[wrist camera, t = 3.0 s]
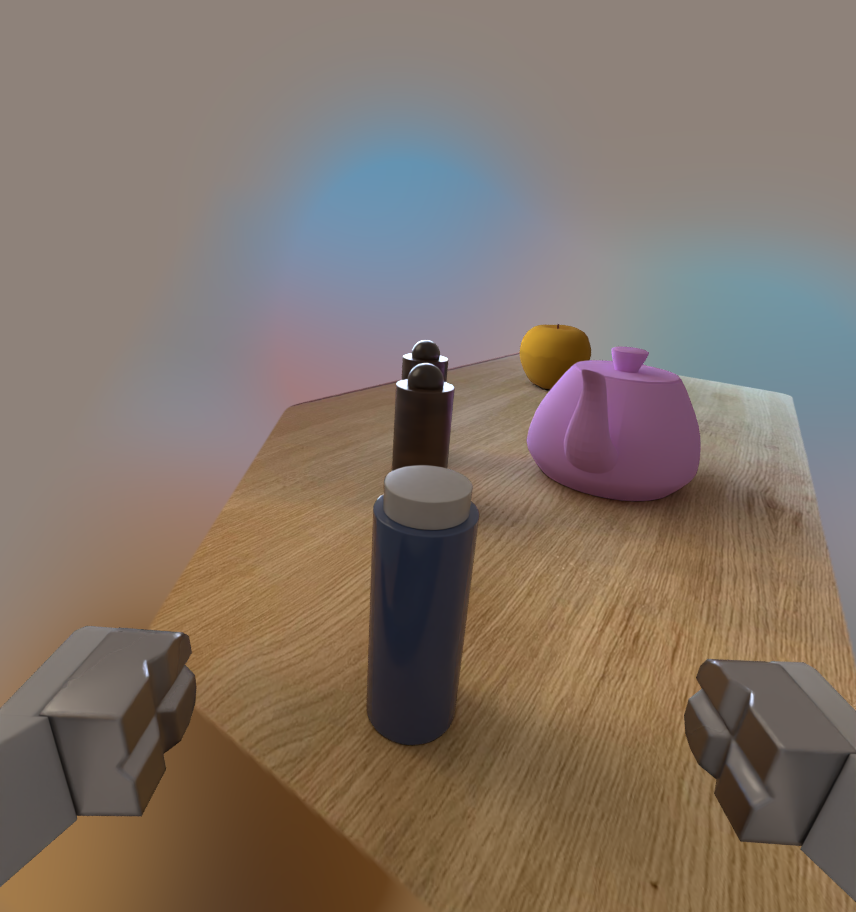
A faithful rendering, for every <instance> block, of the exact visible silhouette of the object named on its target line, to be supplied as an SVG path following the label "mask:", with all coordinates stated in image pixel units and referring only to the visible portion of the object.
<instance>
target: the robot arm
mask: <svg viewBox="0 0 856 912" xmlns="http://www.w3.org/2000/svg"><path fill="white" fill-rule="evenodd" d="M191 653H192V651H191V645H190V640H189V636H188V635H186V634H184V633H183V632H170V631H157V630H144V629H129V628H107V627H95V626H85V627H83V628H80V629H78V630H76V631H75V632H73V633H72V635H71V636H70V637H69V638H68V639H67V640H66V641H65V642H64V643H63V644H62V645H61V646H60V647H59V648H58V649H57V650H56V651H55V652H54V653H53V654H52V655H51V656H50V657H49V658H48V659H47V660H46V661H45V662H44V664H43V665H42V666H41V667H40V668H39V669H38V670H37V671H36V672H35V673H34V674H33V675H32V676H31V677H30V678H29V679H28V680H27V681H26V682H25V683H24V684H23V685H22V686H21V687H20V688H19V689H18V691H16V693H15V694H14V695H13V696H12V697H11V698H10V699H9V700H8V701H7V702H6V703H5V704H4V705H3V706H2V707H1V708H0V887H1V886H2V885H3V884H4V883H5V882H7V880H9V879H10V878H11V877H12V876H13V875H15V874H16V873H17V872H18V871H19V870H20V869H21V868H22V867H24V866H25V865H26V864H27V863H28V862H29V861H31V860H32V859H33V858H34V857H35V856H36V855H37V854H39V853H40V852H41V851H42V850H43V849H44V848H45V847H46V846H48V845H49V844H50V843H51V842H52V841H53V840H55V839H56V838H57V837H58V836H59V835H60V834H61V833H63V832H64V831H65V830H66V829H67V828H68V827H69V826H71V825H72V824H73V823H74V822H75V821H76V820H77V816H142V815H143V812H144V811H145V808H146V807H147V805H148V803H149V801H150V799H151V797H152V795H153V794H154V792H155V790H156V788H157V786H158V784H159V782H160V780H161V778H162V776H163V774H164V772H165V771H166V766H165V760H164V753H165V752H167V751H168V750H169V749H171V748H172V747H173V746H175V745H176V744H177V743H179V742H180V741H181V739H182V738H183V735H184V733H185V731H186V729H187V727H188V725H189V723H190V720H191V716H192V713H193V709H194V706H195V701H196V679H195V675H194V674H193V672H192V671H191V670H190V669H189V668H188V667H187V666H186V665H185V664H186V662H187V660H188V658H189V657H190V655H191ZM696 679H697V681H698V683H699V684H700V686H701V688H702V689H701V690H700V691H698V692H697V693H696V694H695V695H693V696H692V697H691V698H690V699H689V700H688V703H687V707H686V711H685V714H684V721H685V734H686V737H687V740H688V743H689V746H690V749H691V751H692V753H693V755H694V757H695V759H696V761H697V763H698V765H700V766H701V767H702V768H703V769H704V770H706V771H707V772H708V773H709V774H710V775H712V776H713V777H714V778H715V779H716V785H715V792H714V794H715V796H716V798H717V800H718V802H719V803H720V805H721V807H722V809H723V811H724V813H725V814H726V816H727V818H728V820H729V822H730V824H731V825H732V827H733V829H734V831H735V833H736V834H737V836H738V838H739V840H740V841H741V842H755V843H768V844H782V845H795V846H802V847H801V850H802V851H803V852H804V853H805V854H806V855H807V856H808V857H809V858H810V859H811V860H812V861H813V862H814V863H815V864H816V865H817V866H819V867H820V868H821V869H822V870H823V871H824V872H825V873H826V874H827V875H828V876H829V877H830V878H831V879H832V880H833V881H834V882H835V883H836V884H837V885H839V886H840V887H841V888H842V889H843V890H844V891H845V892H846V893H847V894H848V895H849V896H850V897H851V898H852V899H853V900H854V901H855V902H856V711H855V710H854V709H853V708H852V707H851V706H850V705H849V704H848V702H847V701H846V700H845V699H844V698H843V697H842V696H841V695H840V694H839V693H838V692H837V691H836V690H835V689H834V688H833V687H832V686H831V685H830V684H829V683H828V682H827V681H826V680H825V679H824V678H823V676H822V675H821V674H820V673H819V672H818V671H817V670H816V669H814V668H813V667H811V666H809V665H807V664H806V663H804V662H777V661H771V662H765V661H742V660H719V659H707V660H706V661H705V662H704V663H703V664H702V665H700V668H699V671H698V674H697V676H696Z"/></svg>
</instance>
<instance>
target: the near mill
mask: <svg viewBox="0 0 856 912" xmlns="http://www.w3.org/2000/svg"><path fill="white" fill-rule="evenodd" d="M454 389H455V388H454V386H453V385H451V384H449V383H446V382H444V377H443V374H442V372H441V371H440V369H439V368H438V367H436V366H435V365H433V364H429V363H422V364H419V365H417V366H415V367H414V368H413V369H412V370H411V371H410V373H409V375H408V379H406V380H401V381H399V382H397V383H396V399H395V419H394V440H393V461H392V471H394V470H396V469H399V468H402V467H407V466H417V465H427V466H437V467H443V468H447V464H448V454H449V443H450V432H451V421H452V410H453V400H454Z"/></svg>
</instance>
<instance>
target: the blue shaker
mask: <svg viewBox="0 0 856 912" xmlns="http://www.w3.org/2000/svg"><path fill="white" fill-rule="evenodd" d="M472 489H473V486H472V483H471V481H470V480H469V479H468V478H467V477H465V476H464V475H462V474H460V473H458V472H456V471H453V470H451V469H447V468H443V467H437V466H427V465H417V466H407V467H402V468H399V469H396V470H394V471H392V472H390V473H389V474H388V475H387V476H386V477H385V479H384V494H383V495H382V496H380V497H379V498H378V499H377V500H376V502H375V504H374V506H373V527H372V556H371V586H370V615H369V645H368V675H367V704H366V706H367V714H368V717H369V720H370V722H371V723H372V725H373V726H374V728H375V729H376V730H377V731H378V732H379V733H380V734H381V735H383V736H384V737H385V738H387V739H389V740H391V741H394V742H396V743H400V744H405V745H420V744H424V743H428V742H431V741H433V740H435V739H437V738H438V737H440V736H441V735H442V734H444V733H445V732H446V731H447V729H448V728H449V727H450V725H451V723H452V721H453V719H454V715H455V709H456V701H457V693H458V685H459V677H460V669H461V661H462V653H463V644H464V636H465V628H466V620H467V612H468V604H469V596H470V588H471V580H472V571H473V563H474V555H475V547H476V539H477V531H478V523H479V511H478V509H477V507H476V506H475V504H474V503H473V502H472V501H471V498H472Z"/></svg>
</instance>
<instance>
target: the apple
mask: <svg viewBox="0 0 856 912" xmlns="http://www.w3.org/2000/svg"><path fill="white" fill-rule="evenodd" d="M590 357H591V347H590V343H589V340H588V337H587V336H586V334H585V333H584V332H583V331H581V330H579V329H577V328H575V327H571V326H566V325H559V324H558V325H538V326H535V327H533V328H532V329H530V330H529V331H528V332H527V333H526V335H525V336H524V337H523V340H522V342H521V347H520V360H521V363H522V366H523V369H524V371H525V373H526V375H527V377H528V378H529V380H530V381H531V382H532V383H534V384H536V385H538V386H540V387H542V388H544V389H549V390H551V389H552V387H553V386H554V385H555V384H556V383H557V382H558V380H559V379H560V378H561V377H562V376H563V375H564V374H565V372H567V371H568V370H569V369H570V368H571V367H572V366H573V365H574V364H576V363H577V362H580V361H588V360H590Z"/></svg>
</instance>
